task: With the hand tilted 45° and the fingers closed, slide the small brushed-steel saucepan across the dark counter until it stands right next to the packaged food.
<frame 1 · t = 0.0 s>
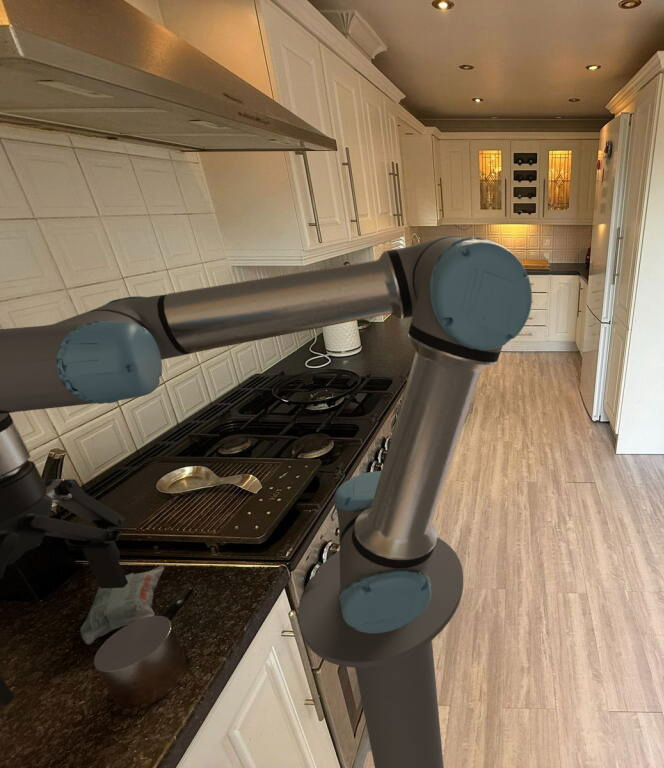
hand: (63, 636, 46), 18 cm above the worktop, tool pointing down, fingers open, 13 cm apart
saucepan: (152, 680, 59), on the worktop
packaged food: (133, 611, 69), on the worktop
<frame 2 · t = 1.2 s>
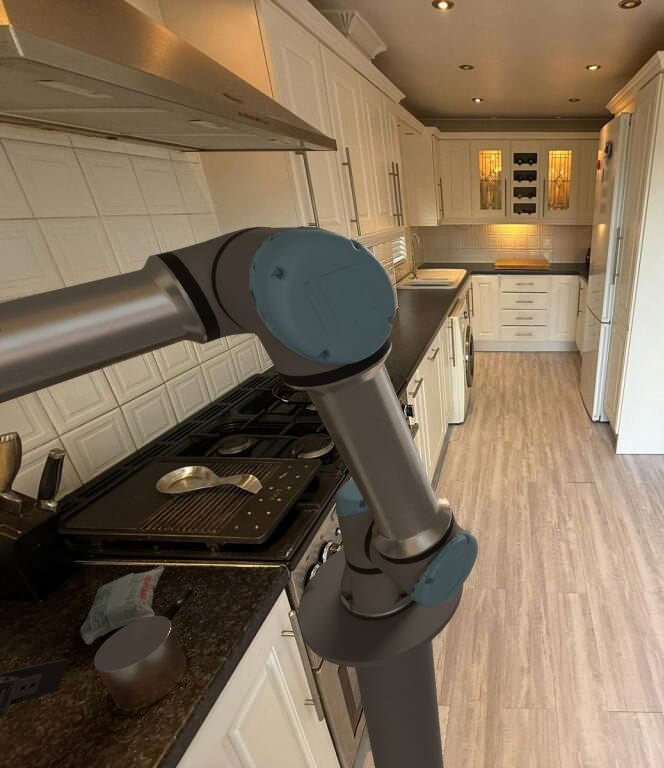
nothing on the worktop moved.
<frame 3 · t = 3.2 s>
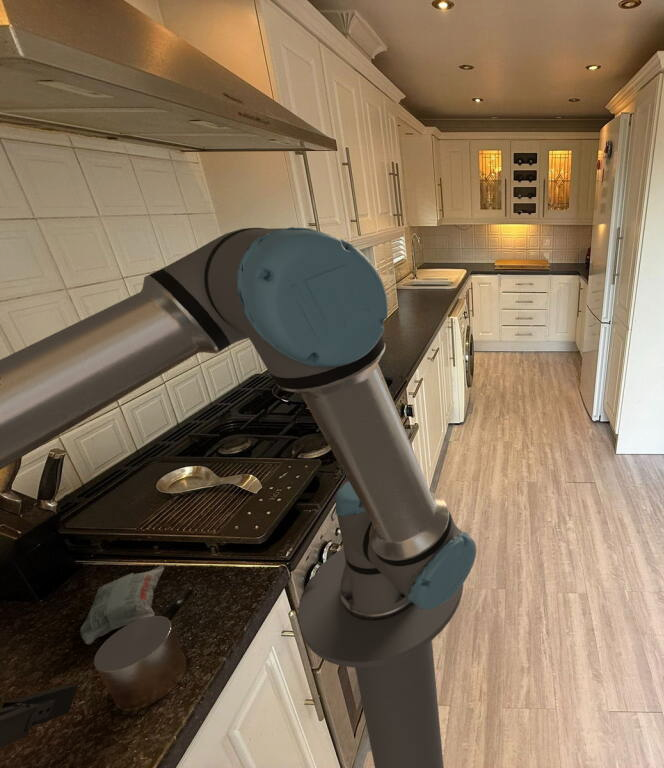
hand: (66, 699, 47), 10 cm above the worktop, tool tilted 45°, fingers closed
nothing on the worktop moved.
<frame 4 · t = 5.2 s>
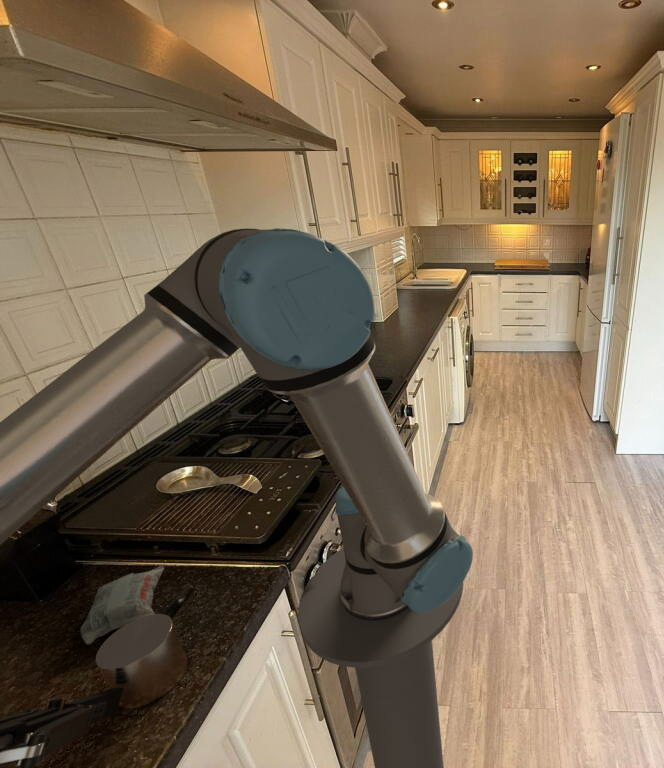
hand: (113, 700, 53), 4 cm above the worktop, tool tilted 45°, fingers closed
saucepan: (153, 678, 59), on the worktop, touching gripper
everything else where it was.
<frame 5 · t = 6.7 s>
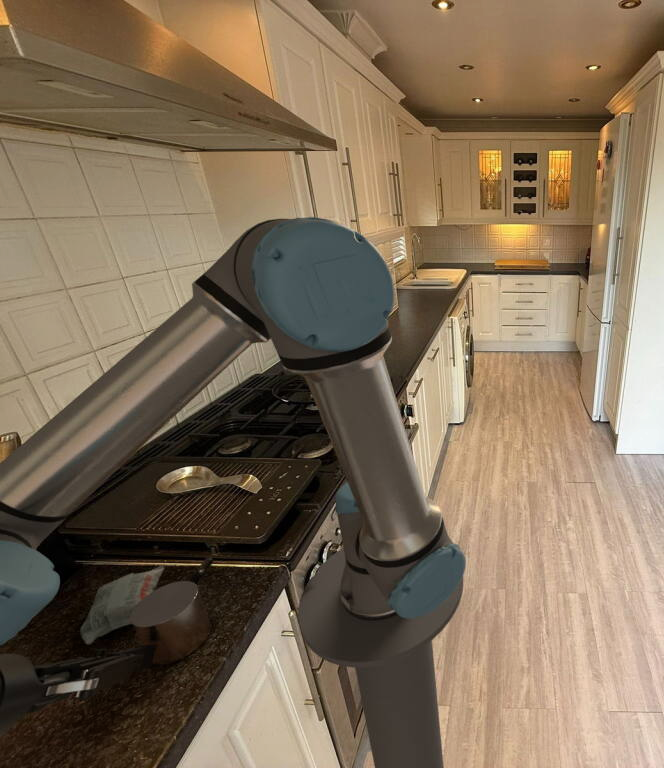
hand: (148, 655, 58), 4 cm above the worktop, tool tilted 45°, fingers closed
saucepan: (180, 639, 65), on the worktop, touching gripper
everything else where it was.
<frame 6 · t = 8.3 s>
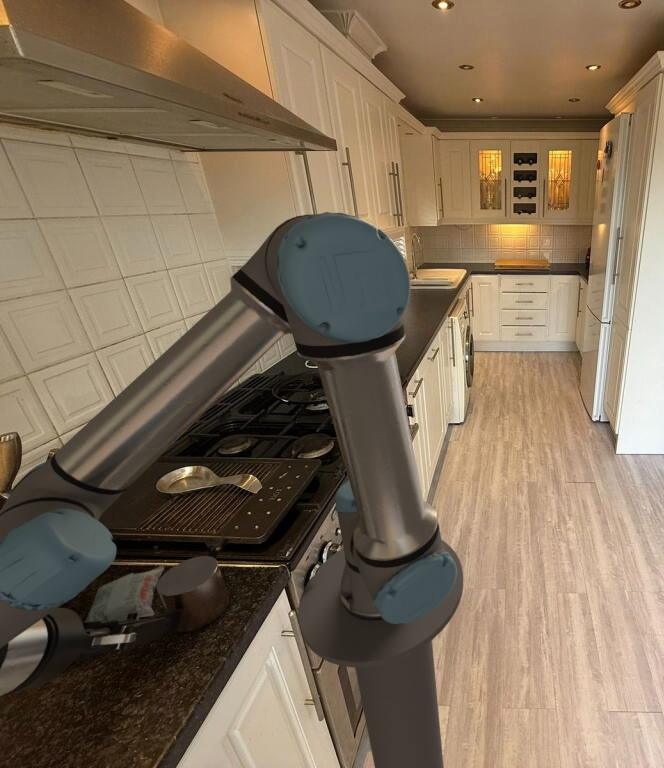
hand: (174, 621, 63), 4 cm above the worktop, tool tilted 45°, fingers closed
saucepan: (201, 610, 70), on the worktop, touching gripper
everything else where it was.
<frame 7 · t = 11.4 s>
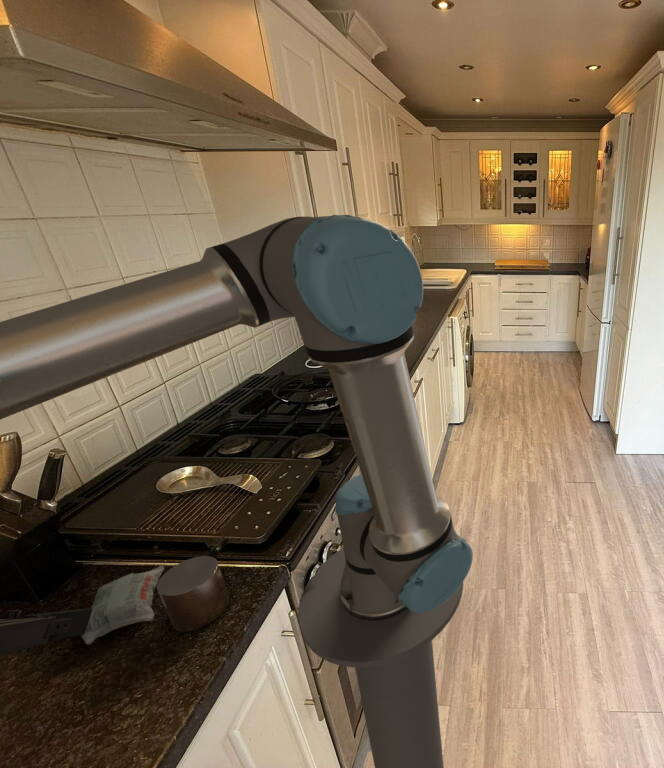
hand: (82, 621, 49), 17 cm above the worktop, tool tilted 45°, fingers closed
saucepan: (201, 609, 70), on the worktop
everything else where it was.
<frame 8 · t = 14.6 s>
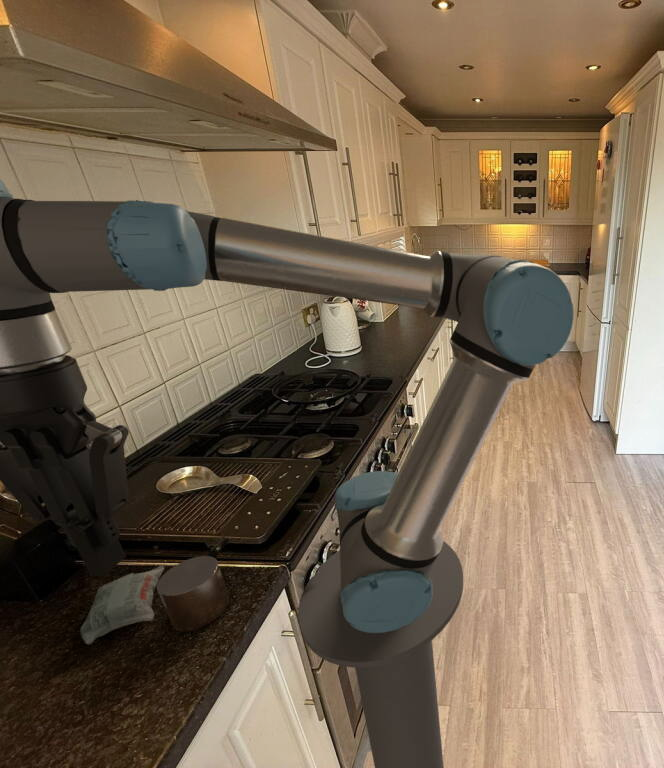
hand: (108, 565, 45), 26 cm above the worktop, tool pointing down, fingers closed
nothing on the worktop moved.
at the end: saucepan 11.6 cm from the packaged food (horizontally); saucepan tilted 0°; packaged food moved 0.2 cm from its start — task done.
